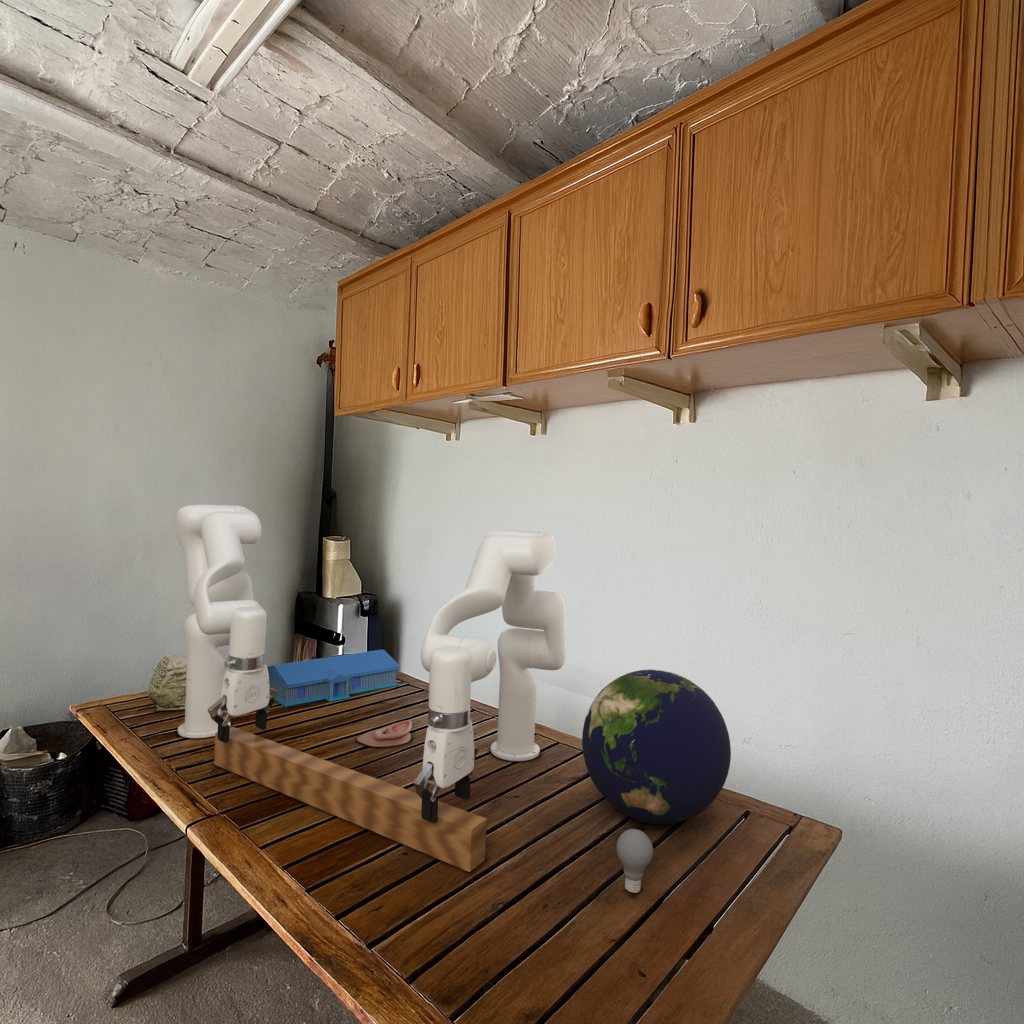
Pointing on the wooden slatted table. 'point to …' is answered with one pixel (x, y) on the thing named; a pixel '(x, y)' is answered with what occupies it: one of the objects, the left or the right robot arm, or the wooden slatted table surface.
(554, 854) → the wooden slatted table surface
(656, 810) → the globe
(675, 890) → the wooden slatted table surface
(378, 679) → the model building
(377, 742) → the anatomical model
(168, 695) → the fossil
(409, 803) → the bar
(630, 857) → the light bulb
